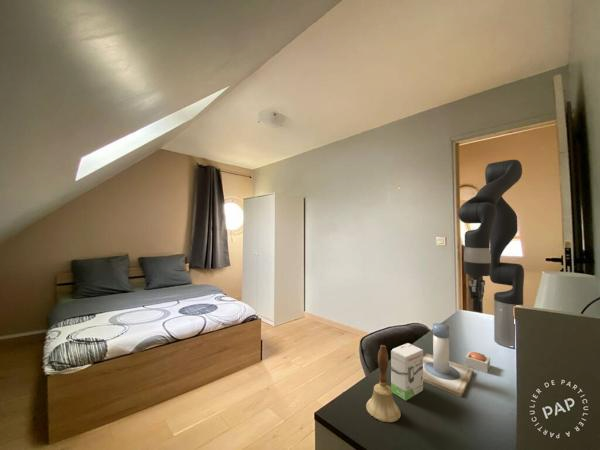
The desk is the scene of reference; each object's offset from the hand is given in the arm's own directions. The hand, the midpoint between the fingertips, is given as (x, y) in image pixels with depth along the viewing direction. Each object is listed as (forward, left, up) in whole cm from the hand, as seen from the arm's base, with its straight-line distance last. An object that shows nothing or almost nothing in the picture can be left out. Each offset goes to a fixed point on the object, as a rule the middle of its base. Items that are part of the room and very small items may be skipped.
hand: (477, 311), depth 83 cm
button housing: (0, 0, -19) cm, 19 cm away
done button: (0, 0, -17) cm, 17 cm away
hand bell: (+39, +23, -19) cm, 49 cm away
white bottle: (+15, +6, -17) cm, 24 cm away
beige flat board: (+15, +6, -19) cm, 25 cm away
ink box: (+30, +15, -19) cm, 38 cm away
